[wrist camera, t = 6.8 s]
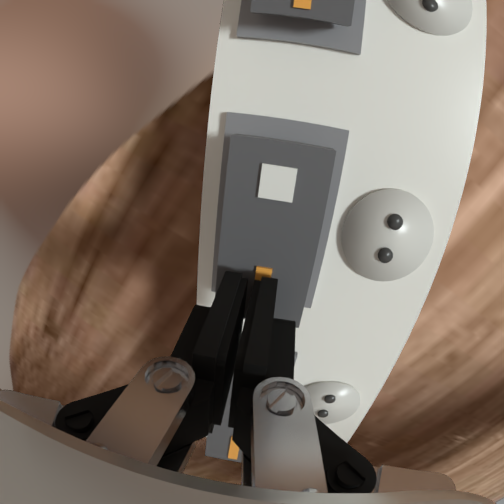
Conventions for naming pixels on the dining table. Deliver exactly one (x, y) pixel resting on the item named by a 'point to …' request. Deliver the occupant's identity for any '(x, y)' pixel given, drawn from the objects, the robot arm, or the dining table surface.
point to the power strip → (355, 169)
